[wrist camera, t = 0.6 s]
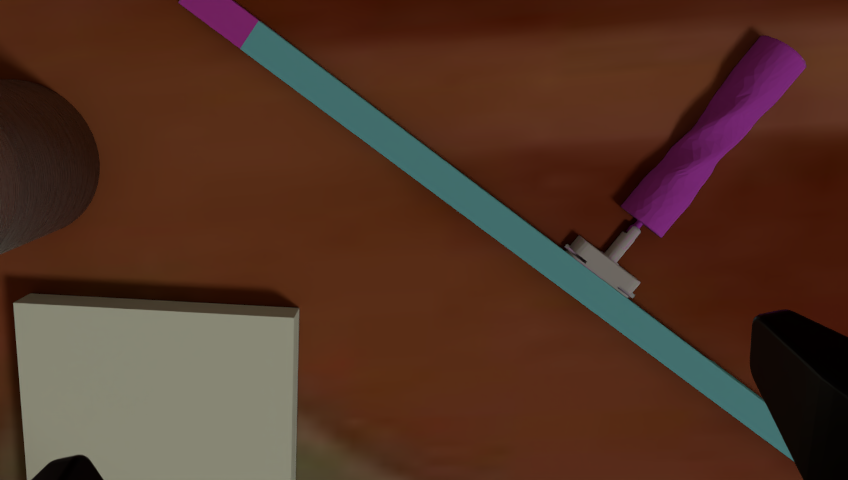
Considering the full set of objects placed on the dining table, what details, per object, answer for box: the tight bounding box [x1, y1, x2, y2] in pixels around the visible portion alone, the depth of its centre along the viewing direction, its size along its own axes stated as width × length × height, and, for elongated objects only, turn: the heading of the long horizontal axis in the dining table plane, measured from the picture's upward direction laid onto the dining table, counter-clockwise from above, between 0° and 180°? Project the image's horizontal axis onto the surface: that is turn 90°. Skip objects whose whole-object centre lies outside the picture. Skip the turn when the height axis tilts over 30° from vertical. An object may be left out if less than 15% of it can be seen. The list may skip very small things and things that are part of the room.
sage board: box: [13, 293, 299, 480], centre depth 24 cm, size 9×9×1 cm
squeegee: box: [178, 0, 806, 461], centre depth 22 cm, size 29×2×10 cm
